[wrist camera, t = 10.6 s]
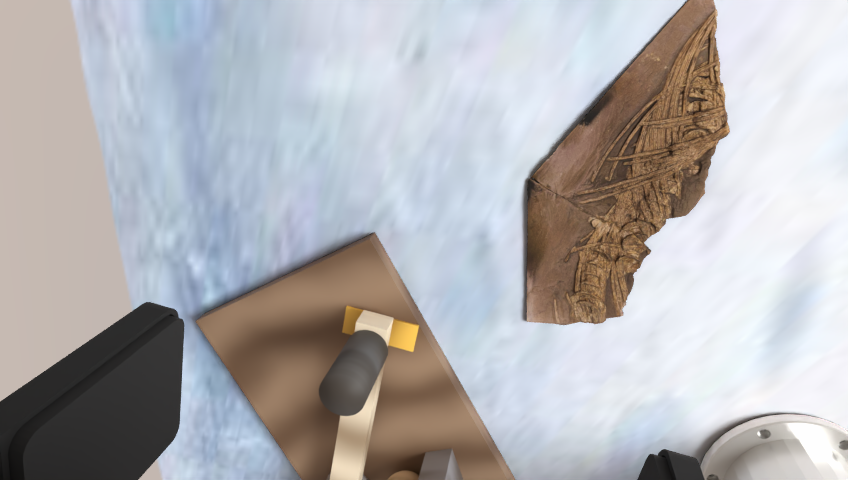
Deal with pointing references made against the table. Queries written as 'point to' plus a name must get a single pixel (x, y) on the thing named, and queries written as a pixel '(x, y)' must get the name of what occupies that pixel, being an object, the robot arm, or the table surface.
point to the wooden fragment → (625, 174)
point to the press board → (318, 349)
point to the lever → (356, 392)
